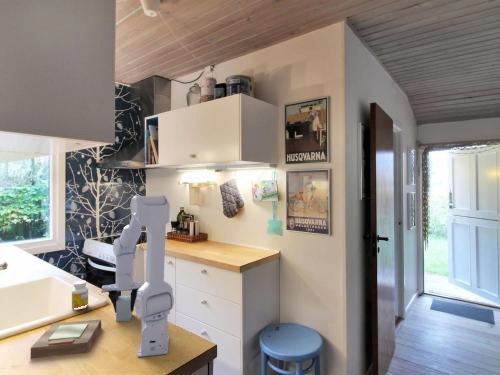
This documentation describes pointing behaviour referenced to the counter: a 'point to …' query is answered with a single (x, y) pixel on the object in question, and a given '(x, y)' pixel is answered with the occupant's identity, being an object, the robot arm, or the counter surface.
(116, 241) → the robot arm
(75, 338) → the walnut stand
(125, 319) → the slate block
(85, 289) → the supplement bottle
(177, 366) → the counter surface
